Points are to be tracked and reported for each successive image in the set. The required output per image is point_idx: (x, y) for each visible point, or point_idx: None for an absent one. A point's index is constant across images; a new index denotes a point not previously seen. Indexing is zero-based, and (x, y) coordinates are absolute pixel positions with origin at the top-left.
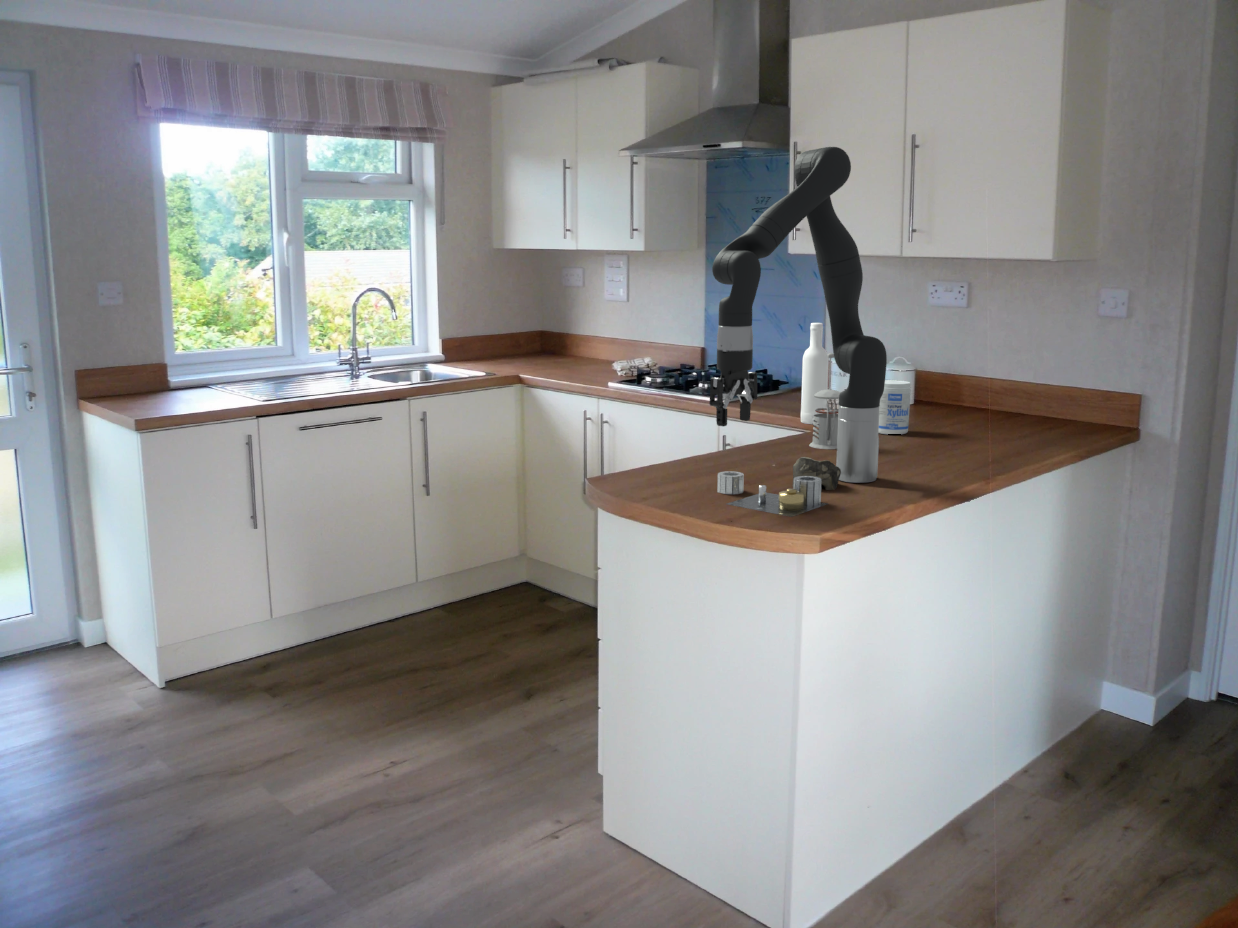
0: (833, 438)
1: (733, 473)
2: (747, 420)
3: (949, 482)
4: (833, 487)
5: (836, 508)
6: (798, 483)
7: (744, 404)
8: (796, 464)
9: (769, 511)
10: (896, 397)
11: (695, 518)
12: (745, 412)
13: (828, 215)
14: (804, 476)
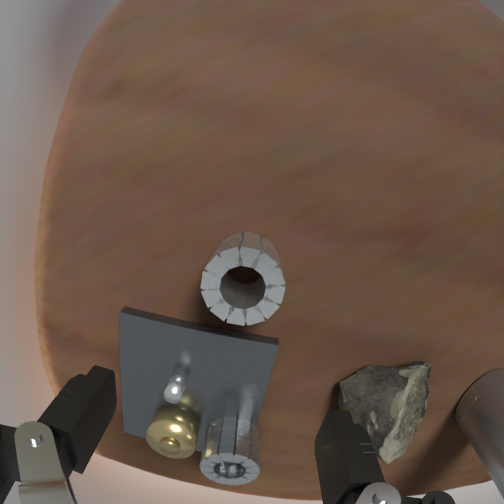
0: None
1: (265, 287)
2: (316, 442)
3: (468, 473)
4: None
5: (260, 457)
6: (201, 458)
7: (335, 499)
8: (392, 404)
9: (126, 400)
10: None
11: (42, 279)
12: (326, 465)
13: None
14: (248, 462)
